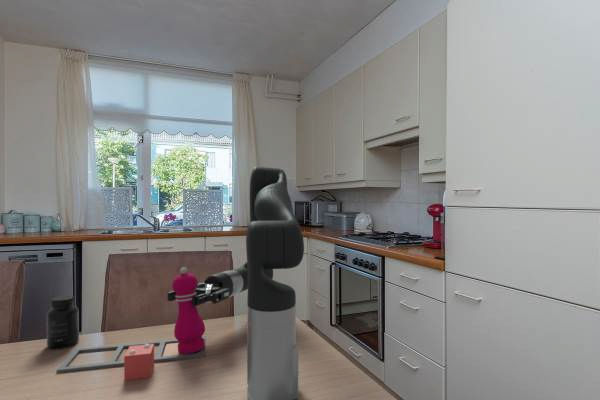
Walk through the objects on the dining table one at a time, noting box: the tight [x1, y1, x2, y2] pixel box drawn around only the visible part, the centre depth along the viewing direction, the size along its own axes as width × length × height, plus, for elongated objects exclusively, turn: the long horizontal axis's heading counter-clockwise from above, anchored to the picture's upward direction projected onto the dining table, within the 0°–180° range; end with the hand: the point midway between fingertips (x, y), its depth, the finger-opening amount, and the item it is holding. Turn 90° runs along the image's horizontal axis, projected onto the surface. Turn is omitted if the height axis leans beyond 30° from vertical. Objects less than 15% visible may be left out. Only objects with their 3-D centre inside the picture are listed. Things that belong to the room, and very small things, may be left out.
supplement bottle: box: [46, 294, 80, 350], centre depth 89 cm, size 7×7×12 cm
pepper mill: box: [171, 266, 206, 354], centre depth 85 cm, size 7×7×20 cm
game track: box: [56, 336, 206, 374], centre depth 83 cm, size 31×11×1 cm, turn 105°
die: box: [123, 344, 155, 381], centre depth 74 cm, size 5×5×6 cm
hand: (180, 299), depth 85 cm, fingers open, 8 cm apart
